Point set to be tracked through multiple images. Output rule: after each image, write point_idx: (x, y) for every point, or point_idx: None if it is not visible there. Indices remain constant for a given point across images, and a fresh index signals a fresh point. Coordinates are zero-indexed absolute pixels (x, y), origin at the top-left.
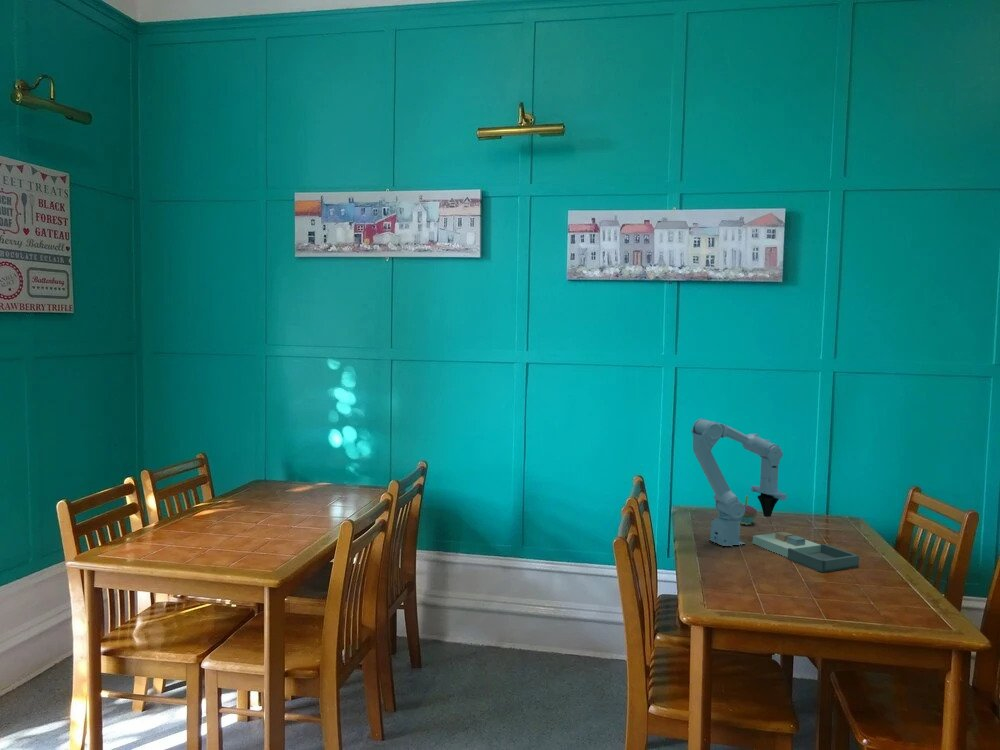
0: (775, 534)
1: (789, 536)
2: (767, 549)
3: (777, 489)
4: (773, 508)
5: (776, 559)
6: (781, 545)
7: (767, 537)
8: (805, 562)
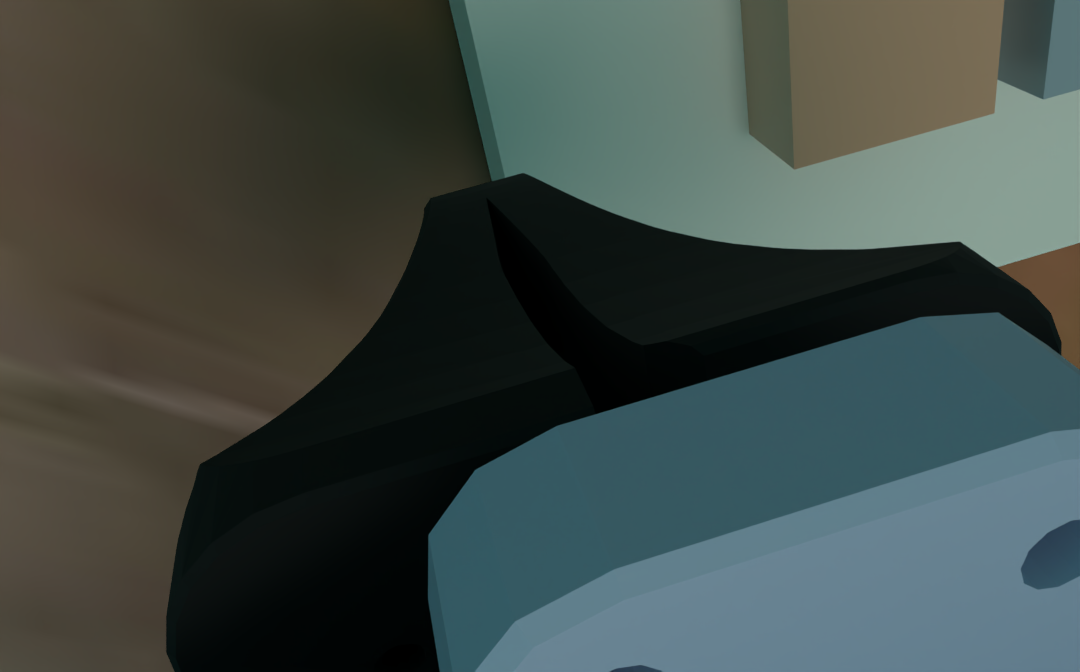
0: (780, 155)
1: (1057, 45)
2: None
3: (918, 512)
4: (633, 222)
5: (1053, 313)
6: (1039, 226)
7: (676, 231)
8: None
